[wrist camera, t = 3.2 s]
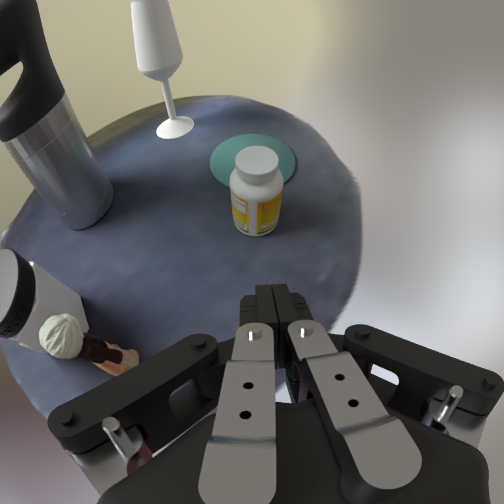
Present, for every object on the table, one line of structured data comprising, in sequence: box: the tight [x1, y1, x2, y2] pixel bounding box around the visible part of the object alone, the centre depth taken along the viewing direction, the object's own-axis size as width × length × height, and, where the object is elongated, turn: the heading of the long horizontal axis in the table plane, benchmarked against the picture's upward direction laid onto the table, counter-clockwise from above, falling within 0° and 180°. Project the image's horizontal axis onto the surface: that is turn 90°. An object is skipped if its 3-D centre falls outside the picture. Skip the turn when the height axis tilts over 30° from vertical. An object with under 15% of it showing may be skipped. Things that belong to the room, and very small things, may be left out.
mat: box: [210, 134, 296, 188], centre depth 37 cm, size 12×12×1 cm
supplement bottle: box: [230, 146, 283, 236], centre depth 28 cm, size 5×5×10 cm
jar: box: [0, 248, 89, 354], centre depth 21 cm, size 9×8×12 cm
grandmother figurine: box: [39, 314, 139, 376], centre depth 19 cm, size 8×4×13 cm, turn 90°
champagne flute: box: [131, 0, 194, 139], centre depth 31 cm, size 7×7×24 cm
